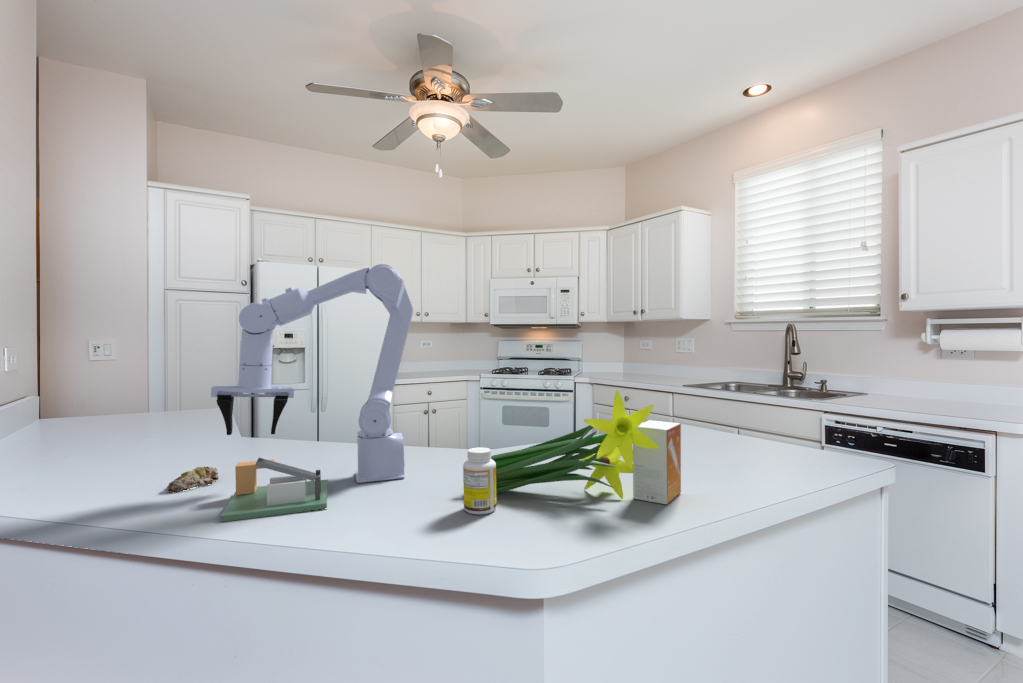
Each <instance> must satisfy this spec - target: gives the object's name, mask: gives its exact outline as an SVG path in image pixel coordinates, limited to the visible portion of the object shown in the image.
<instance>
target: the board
mask: <svg viewBox="0 0 1023 683" xmlns="http://www.w3.org/2000/svg"><path fill="white" fill-rule="evenodd" d="M315 473H316V474H317V473H319V474H320V476H315V480H314V481H311V480H308V479H304V478H300V477H296V476H293V475H287V476H284V475H283V476H277V477H270V478H269V484H267V485H263V486H257V489H256V491H255V493H251V494H242V495H236V491H235V492H234V493H233V495H232V497H231V498H230V500H229V501H228V503H227V505H226V506H225V508H224V509H223V511H222V512H221V514H220V517H219V518H220V523H223V522H232V521H241V520H248V519H257V518H264V517H273V516H281V515H283V516H284V515H291V514H298V513H297V512H299V513H304V512H303V511H307V512H312V511H311V510H315V511H319V510H318V509H324V510H326V509H325V508H328V489H327V488H328V486H329V485H328V484H329V483H328V481H329V480H328V479H321V473H322V472H321V469H316V470H315ZM307 480H308V481H307ZM290 513H291V514H290Z"/></svg>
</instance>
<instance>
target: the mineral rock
mask: <svg viewBox="0 0 1023 683" xmlns="http://www.w3.org/2000/svg"><path fill="white" fill-rule="evenodd" d="M216 480H217V481H218V480H219V471H218V468H217V467H213V466H211V467H210V466H196V468H194V469H192V470H191V471H188V470H187V471H185V472H182V473H181V474H180V476H178V477H177V478H175V479H174V480H173V481H171V482H169V483H168V485H167V486H166V488H167V489H168V490H167V492H168V491H172V492H176V493H178V492H177V491H183V490H187V489H190V488H193V487H197V486H202V485H208V484H211V485H213V484H214V483H213V482H214V481H216ZM212 483H213V484H212ZM208 486H209V485H208ZM202 487H203V486H202ZM172 492H171V493H172Z"/></svg>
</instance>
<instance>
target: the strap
mask: <svg viewBox="0 0 1023 683" xmlns="http://www.w3.org/2000/svg"><path fill="white" fill-rule="evenodd" d="M270 460H271V459H265V458H262V457H258V458H257V460H256V461H257V462H256V464H255V465H256V466H259V467H263V468H262V469H268V470H271V471H275V472H279V473H283V474H286V475H288V476H296V477H300V478H304V479H307V480H308V481H315V476H320V474H319V473H317V474H316V472H314V471H310V470H306V469H303V468H298V467H296V466H295V467H294V466H291V465H288V464H286V463H285V464H284V463H281V462H276V461H275V460H274V461H270Z"/></svg>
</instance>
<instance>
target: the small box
mask: <svg viewBox="0 0 1023 683" xmlns="http://www.w3.org/2000/svg"><path fill="white" fill-rule="evenodd" d="M681 425H682V424H681V423H680V422H671V421H660V420H653V419H652V420H651V419H649V420H645V421H643V422H642V423H641V424H640V425H639V426H638V427H637V428H636V430H638V431H639V432H641V433H642V434H644V435H645V436H647V437H648V438H649V439H650V440H652V441H653V442H654V443H655V444H656V445H657V446H658V447H659V448H657V449H650V448H643V447H639V446H637V445H634V444H632V446H633V473H632V474H633V475H632V498H633V499H635V500H641V501H645V502H649V503H656V504H662V505H668V504H669V503H670V502H671V501H673V500H674V499H675V498H676V497H677V496H678V495H680V494H681V493H682V476H681V475H682V473H681V472H682V470H681V469H682V468H681V467H682V460H681V459H682V455H681V454H682V452H681V450H682V448H681V447H682V446H681V445H682V444H681V443H682V440H681V439H682V433H681V432H682V430H681V429H682V428H681V427H682V426H681Z"/></svg>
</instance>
